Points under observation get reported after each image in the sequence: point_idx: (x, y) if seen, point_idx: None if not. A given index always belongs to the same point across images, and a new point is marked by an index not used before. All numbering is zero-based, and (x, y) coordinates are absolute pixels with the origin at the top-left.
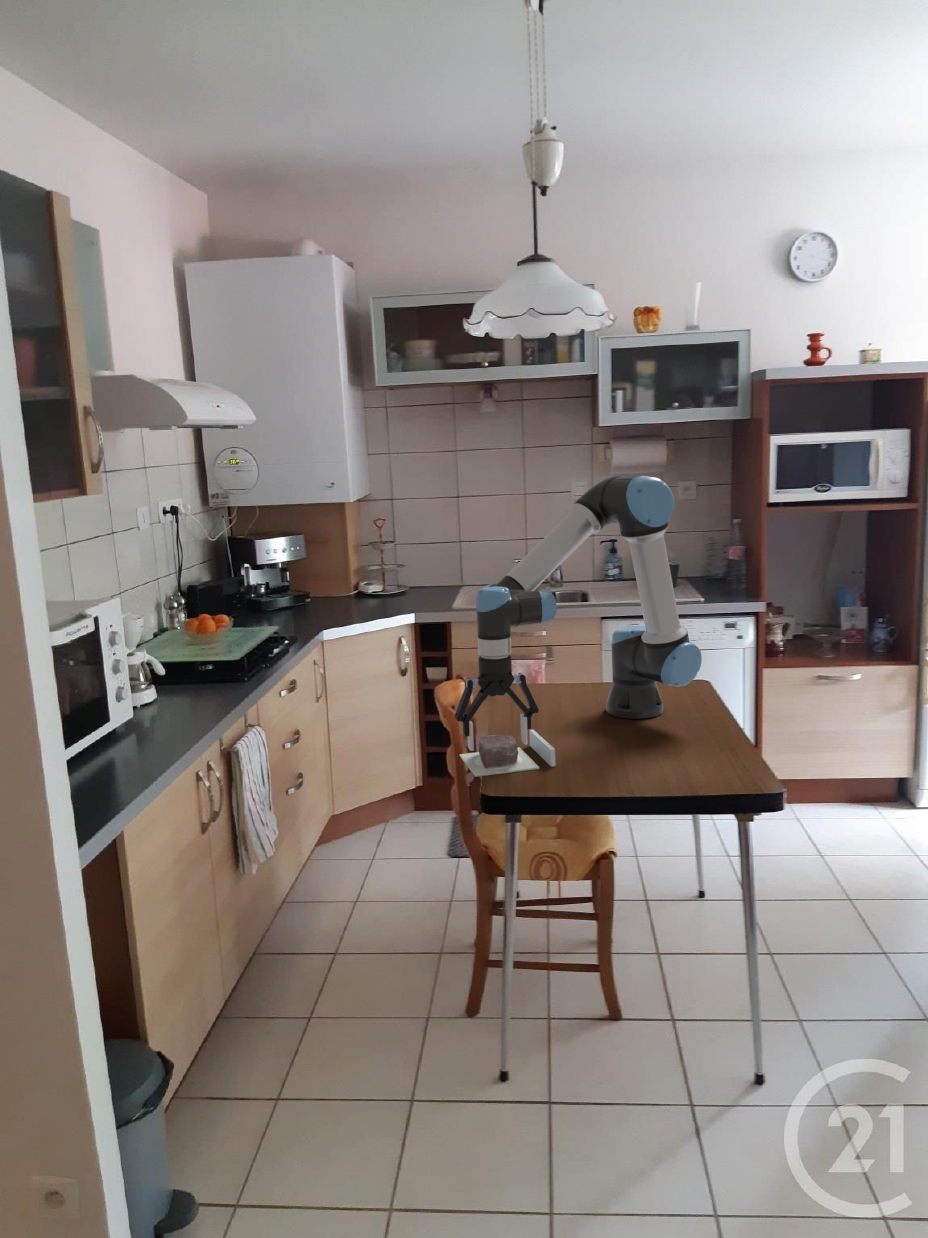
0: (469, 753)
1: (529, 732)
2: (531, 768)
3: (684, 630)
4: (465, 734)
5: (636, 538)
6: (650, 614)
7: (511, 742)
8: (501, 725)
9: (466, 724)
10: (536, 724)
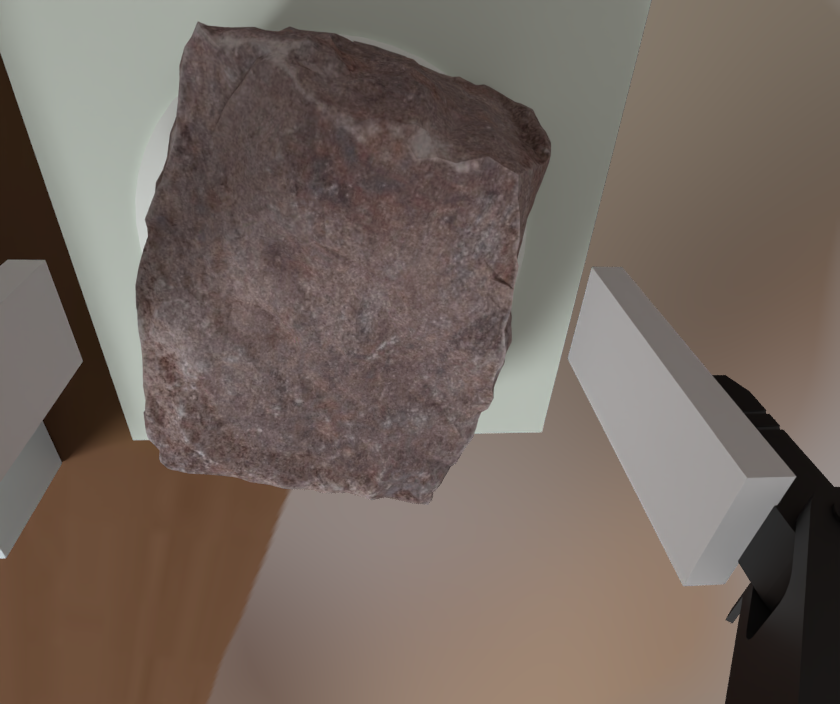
0: (481, 429)
1: (15, 540)
2: None
3: None
4: (737, 391)
5: None
6: None
7: (185, 343)
8: (200, 688)
9: (798, 489)
10: (20, 678)
